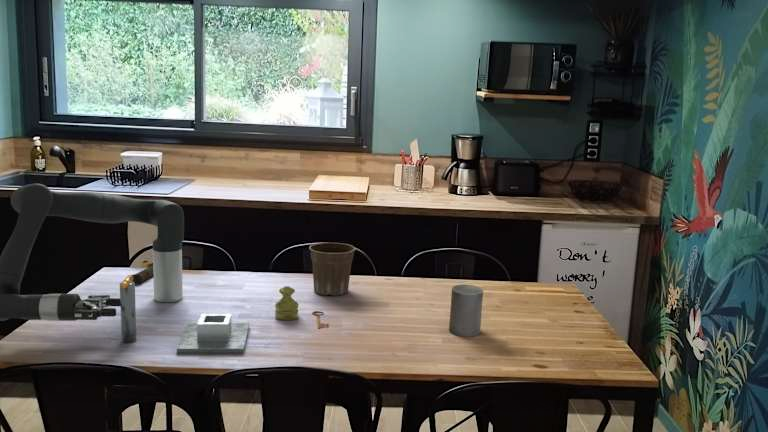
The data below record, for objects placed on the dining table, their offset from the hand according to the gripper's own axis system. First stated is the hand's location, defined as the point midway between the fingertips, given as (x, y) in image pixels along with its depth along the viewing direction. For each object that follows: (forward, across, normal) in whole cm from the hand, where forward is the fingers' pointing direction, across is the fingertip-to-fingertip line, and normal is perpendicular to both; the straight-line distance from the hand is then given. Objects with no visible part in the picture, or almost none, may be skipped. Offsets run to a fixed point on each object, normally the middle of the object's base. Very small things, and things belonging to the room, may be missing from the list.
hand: (119, 307), depth 206 cm
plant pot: (+61, +47, +10) cm, 78 cm away
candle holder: (+26, 0, +10) cm, 28 cm away
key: (+57, +17, +11) cm, 61 cm away
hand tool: (-6, +63, +10) cm, 64 cm away
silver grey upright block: (+2, 0, +10) cm, 10 cm away
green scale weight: (+46, +20, +10) cm, 51 cm away
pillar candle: (+101, +7, +11) cm, 102 cm away
